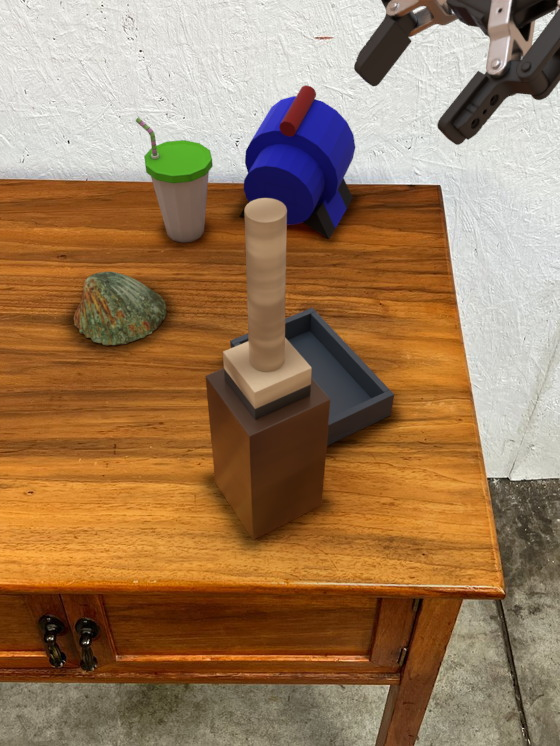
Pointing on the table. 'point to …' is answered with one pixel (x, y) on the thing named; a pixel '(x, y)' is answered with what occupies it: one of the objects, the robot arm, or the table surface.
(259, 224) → the wooden peg on base
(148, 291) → the seashell
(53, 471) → the table surface
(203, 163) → the cup
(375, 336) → the table surface
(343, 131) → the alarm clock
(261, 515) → the stand
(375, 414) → the tray
